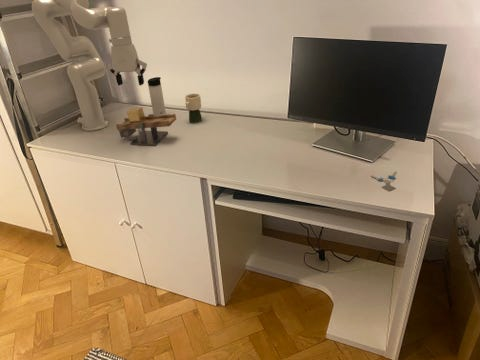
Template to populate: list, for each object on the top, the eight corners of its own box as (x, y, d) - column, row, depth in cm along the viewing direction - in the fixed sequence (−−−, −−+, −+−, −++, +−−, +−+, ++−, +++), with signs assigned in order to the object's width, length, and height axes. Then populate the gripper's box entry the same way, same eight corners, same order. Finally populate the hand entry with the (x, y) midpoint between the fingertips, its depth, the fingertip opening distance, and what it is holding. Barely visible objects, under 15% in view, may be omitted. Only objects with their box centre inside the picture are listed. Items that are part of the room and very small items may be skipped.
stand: (130, 145, 162) (125, 124, 157) (144, 132, 174) (140, 113, 169) (155, 146, 159) (151, 125, 155) (168, 133, 171) (165, 113, 166)
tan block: (130, 125, 162) (126, 112, 159) (136, 120, 166) (132, 108, 163) (140, 124, 161) (136, 111, 158) (145, 120, 165) (142, 107, 162)
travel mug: (165, 118, 189) (159, 79, 179) (152, 119, 189) (145, 79, 179) (167, 114, 194) (161, 75, 184) (155, 114, 194) (148, 76, 184)
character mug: (196, 116, 188) (193, 91, 182) (208, 118, 185) (205, 93, 178) (183, 124, 181) (179, 98, 174) (194, 126, 177) (191, 99, 171)
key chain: (395, 193, 119) (395, 190, 118) (368, 189, 121) (368, 187, 121) (396, 172, 130) (396, 170, 129) (371, 169, 132) (372, 167, 132)
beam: (120, 138, 165) (115, 124, 162) (129, 131, 172) (125, 118, 169) (171, 135, 158) (167, 120, 155) (178, 127, 165) (175, 113, 162)
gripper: (97, 44, 145) (107, 87, 154) (137, 42, 142) (146, 87, 150) (107, 40, 152) (116, 82, 160) (146, 39, 148) (153, 82, 156)
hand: (131, 84), depth 155 cm, fingers open, 9 cm apart
